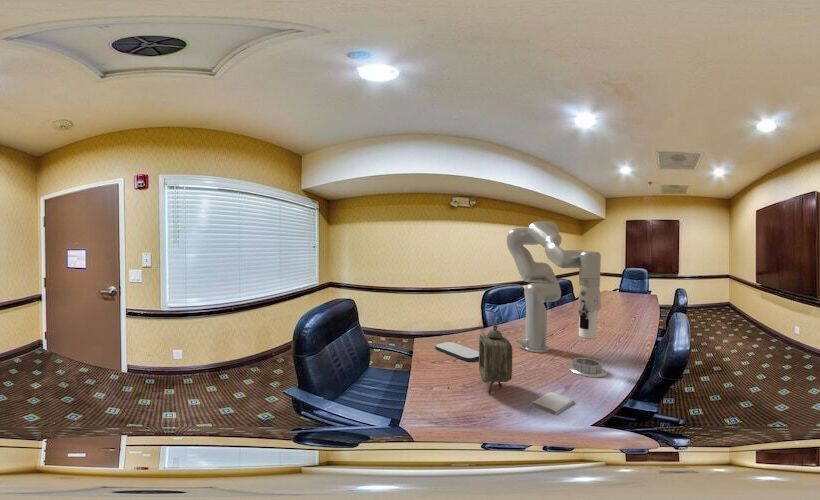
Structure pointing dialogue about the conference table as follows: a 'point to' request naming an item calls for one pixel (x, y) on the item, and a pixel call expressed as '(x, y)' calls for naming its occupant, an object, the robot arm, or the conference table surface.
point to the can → (592, 330)
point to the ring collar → (587, 367)
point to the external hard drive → (458, 351)
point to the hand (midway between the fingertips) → (588, 326)
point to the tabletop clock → (495, 357)
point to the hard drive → (553, 402)
